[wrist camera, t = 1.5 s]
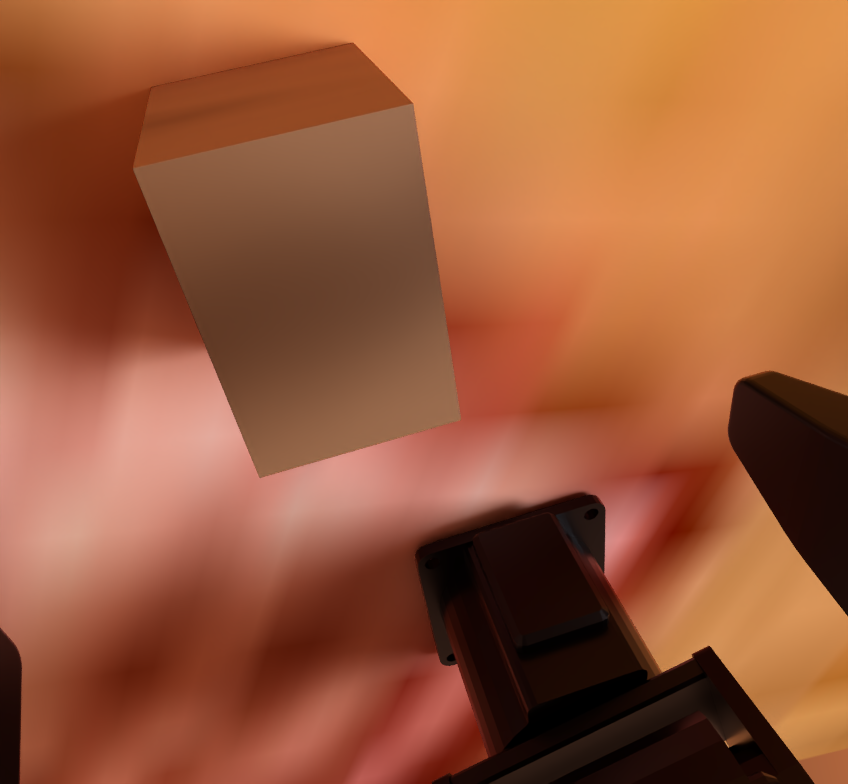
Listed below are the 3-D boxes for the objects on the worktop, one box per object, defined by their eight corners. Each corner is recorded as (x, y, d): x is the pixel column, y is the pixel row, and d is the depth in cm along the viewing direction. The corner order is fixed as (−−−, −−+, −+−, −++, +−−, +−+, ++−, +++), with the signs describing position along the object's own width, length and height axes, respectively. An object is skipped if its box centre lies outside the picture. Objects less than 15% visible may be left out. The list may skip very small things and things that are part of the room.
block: (402, 301, 18) (460, 420, 14) (245, 342, 17) (259, 477, 13) (352, 41, 14) (412, 103, 10) (151, 86, 14) (131, 168, 10)
